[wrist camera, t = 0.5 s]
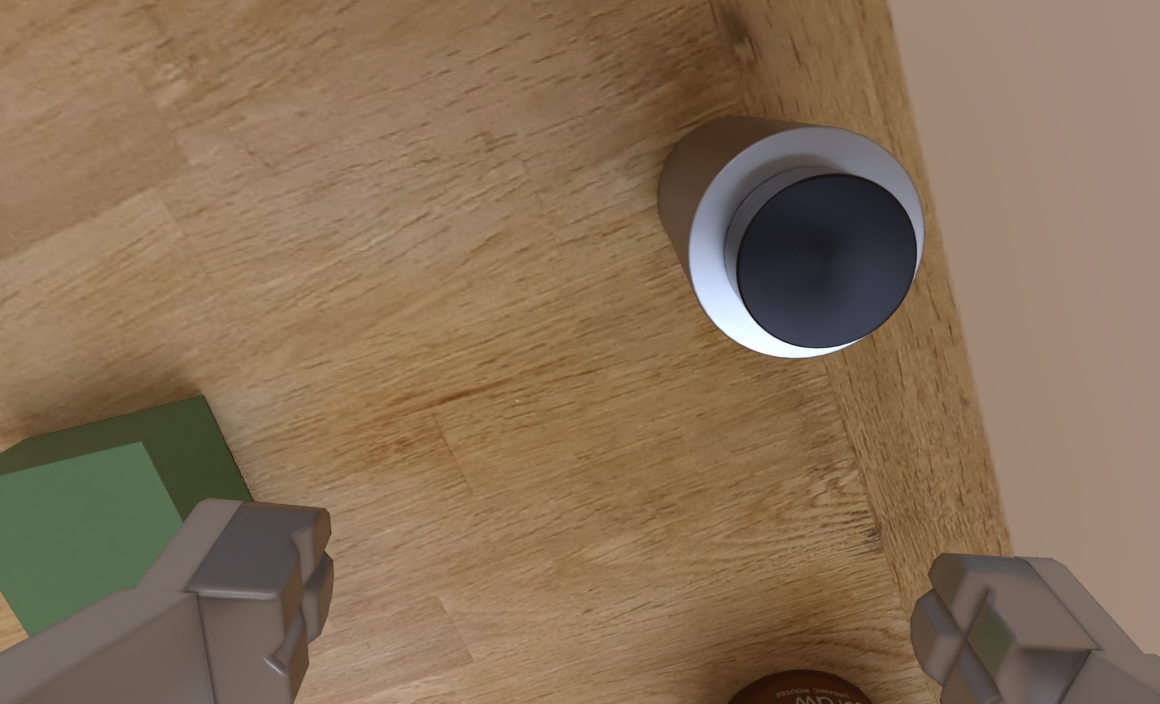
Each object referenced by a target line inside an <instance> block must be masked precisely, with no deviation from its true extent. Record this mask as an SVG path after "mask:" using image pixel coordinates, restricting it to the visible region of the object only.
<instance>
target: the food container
mask: <svg viewBox="0 0 1160 704" xmlns="http://www.w3.org/2000/svg"><path fill="white" fill-rule="evenodd" d="M728 704H872V703H871V702H870V700H869V699H868V698H867V697H866V696H865V695H864V694H863V692H862V691H861V690H860V689H859V688H858V687H856V686H854V685H852V684H851V683H849V682H847V681H845V680H844V679H842V678H840V677H838V676H835V675H831V674H827V673H823V672H819V671H809V670H797V671H787V672H781V673H776V674H773V675H770V676H767V677H764V678H762V679H760V680H758V681H755V682H753V683H751V684H750V685H748V686H747V687H745V688H744V689H742V690H741V691H740V692H739V693H738V694H736V695H735V696H734V697H733V698H732V699H731V700H730V701H729V703H728Z"/></svg>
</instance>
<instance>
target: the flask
mask: <svg viewBox="0 0 1160 704" xmlns="http://www.w3.org/2000/svg"><path fill="white" fill-rule="evenodd" d="M657 199H658V209H659V215H660V218H661V221H662V224H663V226H664V228H665V231H666V233H667V235H668V237H669V239H670V241H671V244H672V246H673V248H674V250H675V252H676V255H677V257H678V259H679V261H680V263H681V265H682V268H683V270H684V272H685V274H686V276H687V279H688V281H689V283H690V285H691V287H692V289H693V292H694V294H695V296H696V298H697V300H698V303H699V305H700V306H701V308H702V309H703V311H704V313H705V314H706V316H707V317H708V318H709V319H710V321H711V322H712V323H713V324H714V325H715V326H716V327H717V328H718V329H719V330H720V331H721V332H722V333H723V334H724V335H725V336H727V337H728V338H730V339H731V340H733V341H734V342H736V343H737V344H739V345H741V346H743V347H745V348H747V349H749V350H751V351H754V352H757V353H760V354H763V355H767V356H772V357H776V358H787V359H802V358H812V357H818V356H823V355H827V354H830V353H834V352H837V351H839V350H842V349H844V348H847V347H849V346H851V345H853V344H855V343H857V342H858V341H860V340H862V339H864V338H865V337H867V336H868V335H869V334H871V333H872V332H874V331H875V330H876V329H878V328H879V327H880V326H881V325H882V324H883V323H884V322H885V321H887V320H888V319H889V318H890V317H891V316H892V314H893V313H894V312H895V311H896V310H897V309H898V307H899V306H900V304H901V303H902V301H903V300H904V298H905V297H906V295H907V294H908V292H909V290H910V288H911V286H912V284H913V282H914V280H915V278H916V275H917V272H918V270H919V267H920V264H921V259H922V255H923V251H924V241H925V219H924V213H923V208H922V203H921V200H920V197H919V194H918V191H917V189H916V187H915V185H914V183H913V181H912V179H911V177H910V175H909V174H908V172H907V171H906V170H905V168H904V167H903V165H902V164H901V163H900V162H899V161H898V160H897V159H896V158H895V157H894V156H893V155H892V154H891V153H890V152H889V151H888V150H887V149H885V148H884V147H883V146H881V145H880V144H879V143H877V142H875V141H873V140H871V139H870V138H868V137H866V136H864V135H861V134H858V133H856V132H853V131H850V130H846V129H841V128H837V127H831V126H822V125H814V124H805V123H797V122H789V121H780V120H772V119H764V118H755V117H746V116H729V117H723V118H718V119H715V120H712V121H709V122H707V123H705V124H703V125H701V126H699V127H697V128H696V129H694V130H693V131H691V132H690V133H688V134H687V135H686V136H685V137H684V138H683V139H682V140H681V141H680V142H679V143H678V144H677V145H676V146H675V148H674V149H673V150H672V152H671V153H670V155H669V156H668V158H667V160H666V162H665V164H664V167H663V169H662V172H661V175H660V179H659V184H658V193H657Z"/></svg>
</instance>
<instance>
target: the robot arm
mask: <svg viewBox="0 0 1160 704" xmlns="http://www.w3.org/2000/svg"><path fill="white" fill-rule="evenodd" d="M331 534H332V533H331V523H330V513H329V512H328V511H327V510H326V509H325V508H318V507H307V506H297V505H286V504H276V503H265V502H254V501H247V502H245V501H238V500H226V499H215V498H207V499H205V500H203V501H201V502H199V503H198V504H197V505H196V506H195V508H194V509H193V510H192V512H191V513H190V514H189V516H188V517H187V518H186V520H185V521H184V522H183V524H182V525H181V526H180V528H179V529H178V530H177V532H176V533H175V534H174V536H173V537H172V538H171V540H170V541H169V542H168V544H167V545H166V546H165V548H164V549H163V550H162V552H161V553H160V554H159V556H158V557H157V558H156V560H155V561H154V562H153V564H152V565H151V566H150V568H149V569H148V570H147V572H146V573H145V574H144V576H143V577H142V578H141V580H140V581H139V582H138V584H137V585H136V586H135V588H134V589H122V588H120V589H119V590H117V591H115V592H113V593H111V594H109V595H107V596H105V597H104V598H102V599H100V600H98V601H96V602H94V603H92V604H90V605H89V606H87V607H85V608H83V609H81V610H79V611H77V612H76V613H74V614H72V615H70V616H68V617H66V618H64V619H62V620H61V621H59V622H57V623H55V624H53V625H51V626H49V627H47V628H46V629H44V630H42V631H40V632H38V633H36V634H34V635H33V636H31V637H29V638H27V639H25V640H23V641H21V642H19V643H18V644H16V645H14V646H12V647H10V648H8V649H6V650H4V651H3V652H1V653H0V704H293V703H294V701H295V698H296V696H297V693H298V691H299V688H300V686H301V683H302V681H303V678H304V676H305V673H306V671H307V668H308V666H309V657H308V644H309V643H310V642H312V641H313V640H314V639H316V638H317V637H318V636H320V635H321V632H322V630H323V627H324V624H325V622H326V619H327V616H328V612H329V607H330V603H331V598H332V593H333V580H334V567H333V560H332V559H331V558H330V556H329V555H328V554H327V553H326V552H325V551H324V550H325V548H326V545H327V543H328V541H329V538H330V536H331ZM928 578H929V580H930V582H931V584H932V586H933V588H932V589H931V590H930V591H928V592H927V593H926V594H924V595H923V596H922V597H920V598H919V599H918V600H917V602H916V604H915V607H914V610H913V613H912V616H911V618H910V625H911V642H912V646H913V649H914V653H915V656H916V658H917V660H918V662H919V664H920V666H921V668H922V670H923V672H925V673H926V674H927V675H928V676H930V677H931V678H932V679H933V680H935V681H936V682H937V683H938V684H940V685H941V686H942V687H943V688H942V692H941V697H940V701H939V702H940V703H941V704H1160V657H1159V656H1157V655H1155V654H1144V653H1143V652H1142V651H1141V650H1140V649H1139V648H1138V646H1137V645H1136V644H1135V643H1134V642H1133V641H1132V640H1131V639H1130V638H1129V636H1128V635H1127V634H1126V633H1125V632H1124V631H1123V630H1122V629H1121V628H1120V627H1119V626H1118V624H1117V623H1116V622H1115V621H1114V620H1113V619H1112V617H1111V616H1110V615H1109V614H1108V613H1107V612H1106V611H1105V610H1104V609H1103V607H1102V606H1101V605H1100V604H1099V603H1098V602H1097V601H1096V600H1095V599H1094V597H1093V596H1091V594H1090V593H1089V592H1088V591H1087V590H1086V589H1085V588H1084V586H1083V585H1082V584H1081V583H1080V582H1079V581H1078V580H1077V579H1076V577H1075V576H1074V575H1073V574H1072V573H1071V572H1070V571H1069V570H1068V569H1067V567H1066V566H1065V565H1063V564H1062V563H1059V562H1058V561H1056V560H1054V559H1052V558H1038V557H1017V556H1015V557H1002V556H987V555H972V554H956V553H941V554H940V555H939V556H938V557H937V558H936V559H935V560H934V561H933V563H932V565H931V568H930V570H929V572H928Z"/></svg>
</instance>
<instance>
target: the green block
mask: <svg viewBox="0 0 1160 704" xmlns="http://www.w3.org/2000/svg"><path fill="white" fill-rule="evenodd" d="M207 498H215V499H226V500H238V501H245V502H247V501H253V500H252V498H251V496H250V494H249V492H248V490H247V488H246V485H245V483H244V481H243V479H242V477H241V475H240V473H239V471H238V469H237V466H236V464H235V462H234V460H233V458H232V456H231V454H230V452H229V449H228V447H227V445H226V443H225V441H224V439H223V437H222V435H221V432H220V430H219V428H218V426H217V424H216V422H215V420H214V418H213V415H212V413H211V411H210V409H209V407H208V405H207V403H206V401H205V398H204V397H203V396H199V397H195V398H191V399H187V400H183V401H179V402H174V403H170V404H166V405H162V406H158V407H154V408H150V409H146V410H142V411H138V412H134V413H130V414H126V415H122V416H118V417H114V418H110V419H106V420H102V421H98V422H94V423H90V424H86V425H82V426H78V427H74V428H69V429H65V430H61V431H57V432H53V433H49V434H45V435H41V436H37V437H33V438H29V439H25V440H23V441H21V442H19V443H18V444H16V445H14V446H12V447H11V448H9V449H7V450H6V451H4V452H2V453H0V591H1V593H2V594H3V596H4V598H5V599H6V601H7V602H8V604H9V606H10V607H11V609H12V610H13V612H14V613H15V615H16V617H17V618H18V620H19V621H20V623H21V625H22V626H23V628H24V629H25V631H26V632H27V634H28V636H29V637H31V636H33V635H34V634H36V633H38V632H40V631H42V630H44V629H46V628H47V627H49V626H51V625H53V624H55V623H57V622H59V621H61V620H62V619H64V618H66V617H68V616H70V615H72V614H74V613H76V612H77V611H79V610H81V609H83V608H85V607H87V606H89V605H90V604H92V603H94V602H96V601H98V600H100V599H102V598H104V597H105V596H107V595H109V594H111V593H113V592H115V591H117V590H119V589H120V588H122V589H134V588H135V586H136V585H137V584H138V582H139V581H140V580H141V578H142V577H143V576H144V574H145V573H146V572H147V570H148V569H149V568H150V566H151V565H152V564H153V562H154V561H155V560H156V558H157V557H158V556H159V554H160V553H161V552H162V550H163V549H164V548H165V546H166V545H167V544H168V542H169V541H170V540H171V538H172V537H173V536H174V534H175V533H176V532H177V530H178V529H179V528H180V526H181V525H182V524H183V522H184V521H185V520H186V518H187V517H188V516H189V514H190V513H191V512H192V510H193V509H194V508H195V506H196V505H197V504H198V503H199V502H201V501H203V500H205V499H207Z"/></svg>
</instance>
